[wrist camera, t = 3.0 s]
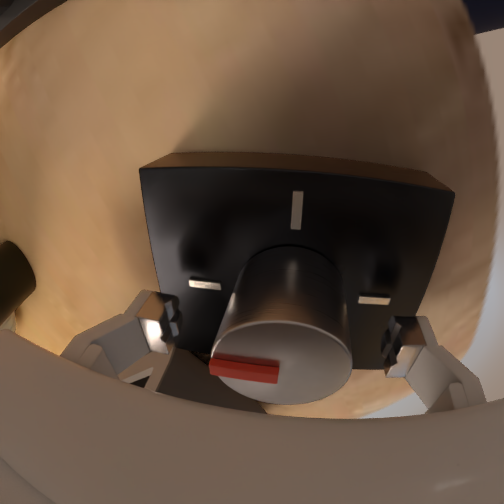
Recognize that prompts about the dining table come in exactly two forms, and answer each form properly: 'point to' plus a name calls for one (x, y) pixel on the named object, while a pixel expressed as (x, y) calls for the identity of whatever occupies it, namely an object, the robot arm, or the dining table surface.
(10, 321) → the vase
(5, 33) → the switch block
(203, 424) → the robot arm
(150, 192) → the dial panel
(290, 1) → the dining table surface
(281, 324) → the dial
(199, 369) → the alarm clock
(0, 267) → the wine bottle
